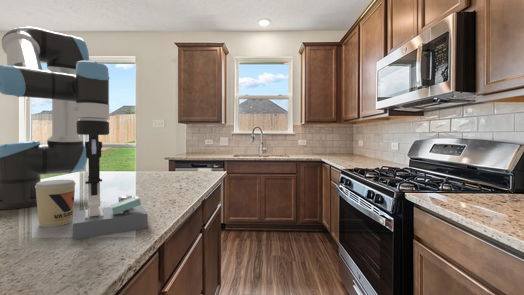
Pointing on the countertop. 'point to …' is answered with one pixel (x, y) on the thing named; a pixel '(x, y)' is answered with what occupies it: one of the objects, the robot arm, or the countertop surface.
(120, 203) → the block
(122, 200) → the plunger
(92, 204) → the slider
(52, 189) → the coffee cup
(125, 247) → the countertop surface
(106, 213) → the console
